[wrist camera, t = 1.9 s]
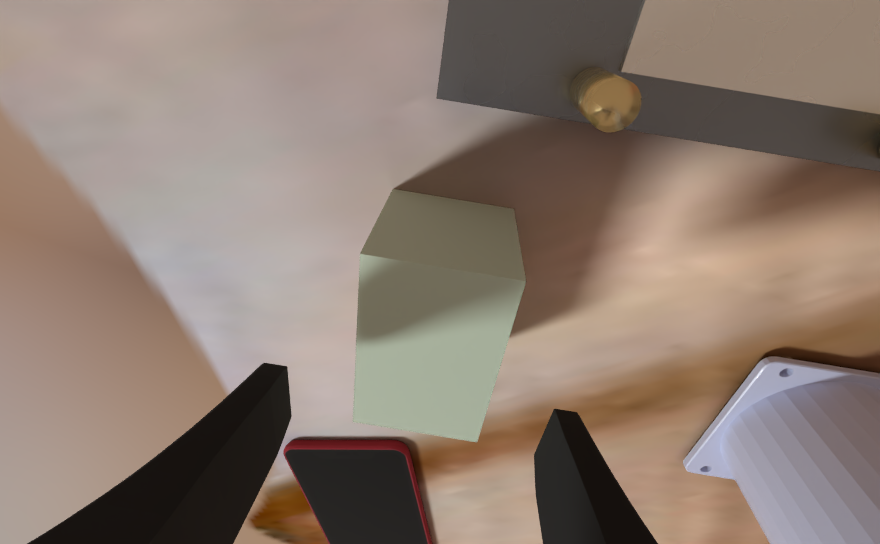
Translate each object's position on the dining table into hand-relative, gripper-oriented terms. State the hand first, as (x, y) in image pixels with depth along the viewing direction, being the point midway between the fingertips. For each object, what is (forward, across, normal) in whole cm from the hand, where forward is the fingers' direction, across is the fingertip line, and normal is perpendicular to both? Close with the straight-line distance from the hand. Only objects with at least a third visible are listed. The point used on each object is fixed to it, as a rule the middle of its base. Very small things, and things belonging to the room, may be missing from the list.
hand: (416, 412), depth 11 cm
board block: (+7, 0, 0) cm, 7 cm away
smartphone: (+7, +2, +19) cm, 20 cm away
